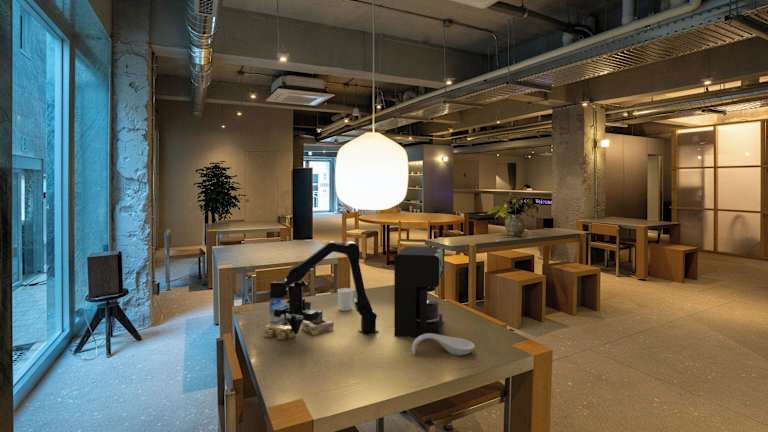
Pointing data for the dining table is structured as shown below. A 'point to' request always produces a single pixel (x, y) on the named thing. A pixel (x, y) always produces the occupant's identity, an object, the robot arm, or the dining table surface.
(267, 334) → the pin guide
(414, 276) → the coffee maker
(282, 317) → the label tape box
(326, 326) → the dock block
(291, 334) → the tan rectangular block
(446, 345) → the spoon rest
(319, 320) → the black cylinder
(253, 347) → the dining table surface
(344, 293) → the white cup
